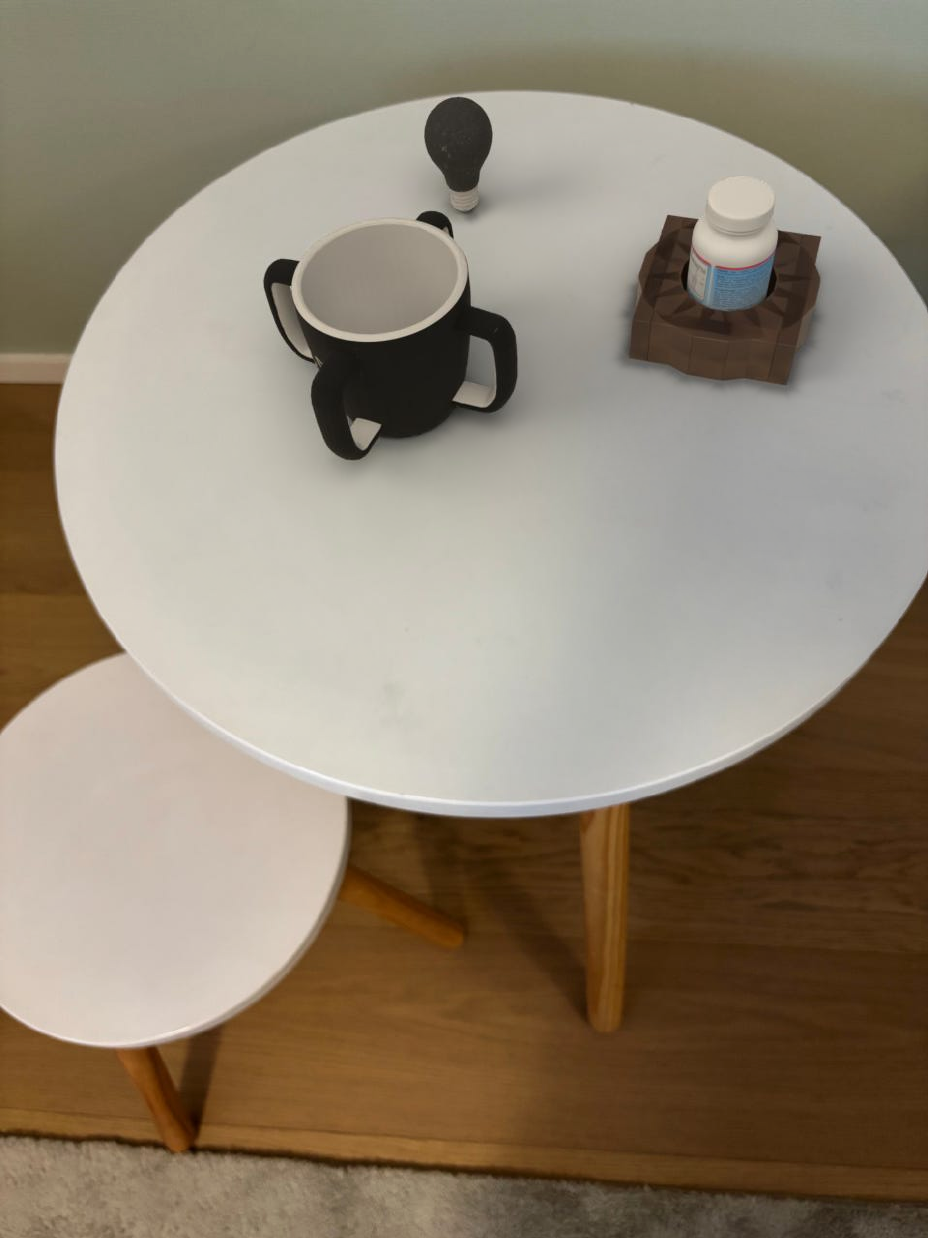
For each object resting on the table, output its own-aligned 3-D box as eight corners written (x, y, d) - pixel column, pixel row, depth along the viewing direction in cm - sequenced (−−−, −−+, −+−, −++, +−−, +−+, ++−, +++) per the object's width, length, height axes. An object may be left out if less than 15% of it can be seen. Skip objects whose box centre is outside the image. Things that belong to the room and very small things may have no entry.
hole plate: (820, 272, 84) (831, 231, 80) (793, 393, 77) (804, 354, 74) (657, 248, 87) (661, 207, 83) (618, 362, 80) (621, 324, 77)
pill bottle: (773, 305, 82) (801, 182, 72) (740, 355, 80) (764, 235, 70) (703, 281, 84) (721, 158, 74) (668, 329, 82) (682, 209, 72)
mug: (285, 348, 84) (246, 226, 74) (475, 301, 85) (463, 174, 75) (320, 503, 76) (282, 389, 66) (531, 449, 77) (526, 328, 66)
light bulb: (431, 192, 93) (417, 86, 84) (493, 184, 92) (486, 77, 84) (436, 233, 90) (422, 128, 81) (500, 225, 90) (493, 119, 81)
